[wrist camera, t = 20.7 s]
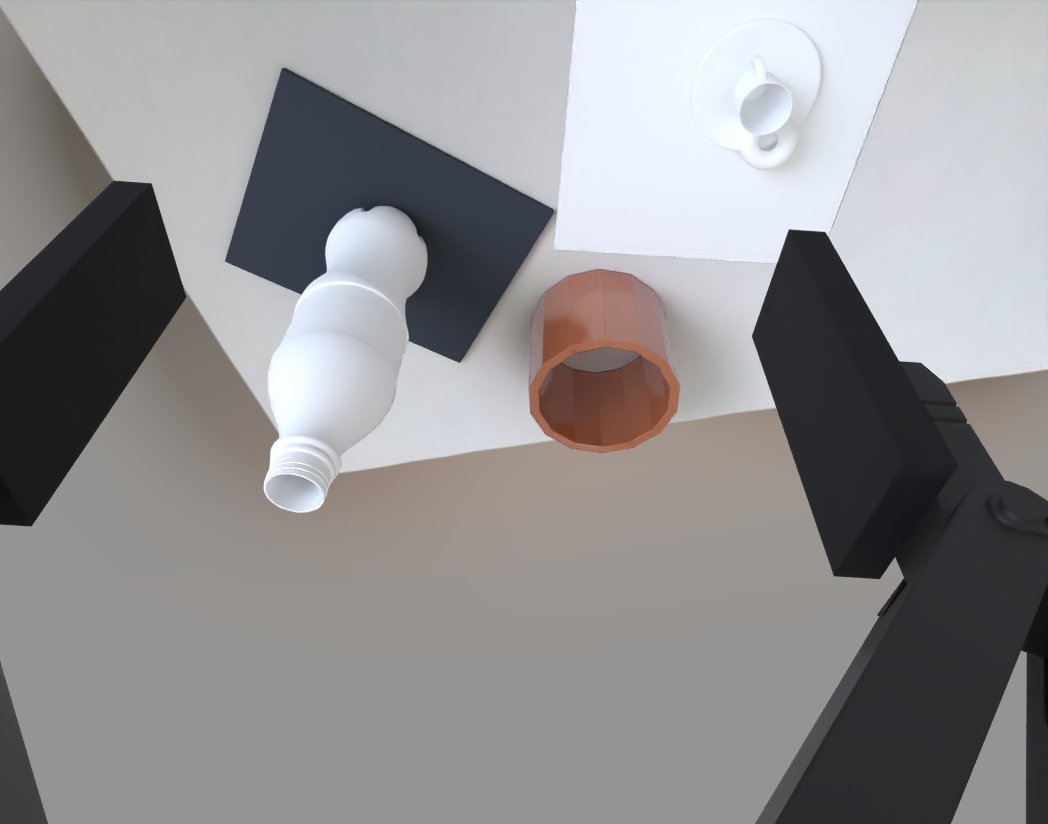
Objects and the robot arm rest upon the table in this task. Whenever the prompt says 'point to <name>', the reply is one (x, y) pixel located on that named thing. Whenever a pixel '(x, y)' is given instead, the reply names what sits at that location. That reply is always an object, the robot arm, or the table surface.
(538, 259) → the table surface
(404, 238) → the water bottle
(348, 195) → the mat
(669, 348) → the terracotta flower pot
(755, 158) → the teacup and saucer
